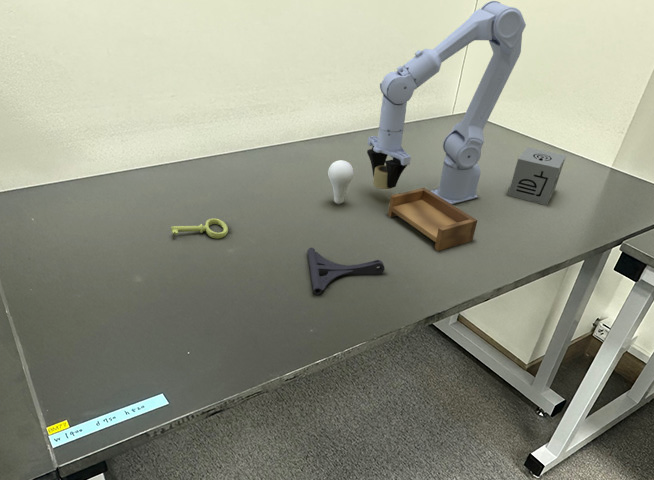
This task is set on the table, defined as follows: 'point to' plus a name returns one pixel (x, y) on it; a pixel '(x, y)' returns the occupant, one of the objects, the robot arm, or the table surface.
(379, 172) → the tape roll
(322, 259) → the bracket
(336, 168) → the lightbulb
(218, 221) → the key
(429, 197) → the shelf
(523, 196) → the icon cube
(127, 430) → the table surface
